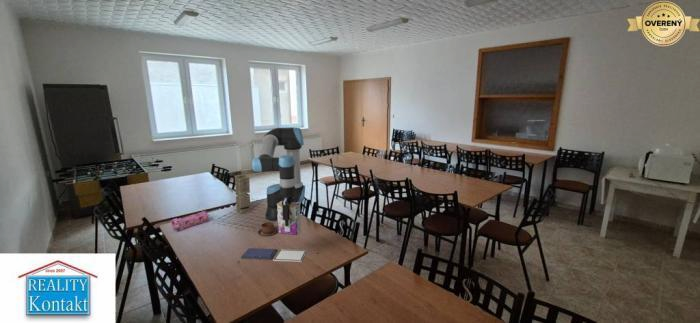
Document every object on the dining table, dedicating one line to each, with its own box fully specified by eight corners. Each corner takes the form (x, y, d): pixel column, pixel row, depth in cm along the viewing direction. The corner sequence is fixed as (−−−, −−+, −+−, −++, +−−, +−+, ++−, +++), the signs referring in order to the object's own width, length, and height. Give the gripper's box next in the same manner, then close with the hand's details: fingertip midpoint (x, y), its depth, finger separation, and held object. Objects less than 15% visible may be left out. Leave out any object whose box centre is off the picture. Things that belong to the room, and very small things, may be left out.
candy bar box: (277, 233, 152) (276, 203, 149) (282, 230, 157) (280, 200, 154) (297, 235, 149) (296, 205, 146) (301, 232, 154) (300, 202, 151)
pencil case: (177, 234, 183) (175, 220, 182) (171, 230, 189) (169, 217, 187) (210, 223, 200) (209, 211, 198) (204, 220, 205) (203, 208, 204)
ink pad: (249, 249, 162) (248, 247, 162) (277, 250, 161) (276, 248, 161) (241, 258, 152) (240, 256, 152) (270, 259, 151) (270, 257, 151)
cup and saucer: (276, 228, 191) (276, 219, 190) (279, 236, 180) (278, 226, 179) (257, 231, 187) (256, 222, 185) (258, 239, 176) (258, 229, 174)
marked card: (280, 249, 162) (280, 249, 162) (306, 250, 161) (306, 250, 160) (272, 260, 150) (272, 260, 150) (301, 261, 149) (301, 261, 149)
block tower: (241, 216, 214) (239, 177, 208) (236, 213, 219) (233, 175, 214) (251, 213, 219) (249, 175, 214) (246, 210, 225) (243, 173, 220)
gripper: (285, 181, 158) (287, 222, 162) (274, 190, 140) (276, 236, 144) (299, 181, 157) (300, 222, 161) (289, 191, 139) (291, 236, 143)
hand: (289, 228), depth 153 cm, fingers closed on candy bar box, 5 cm apart
